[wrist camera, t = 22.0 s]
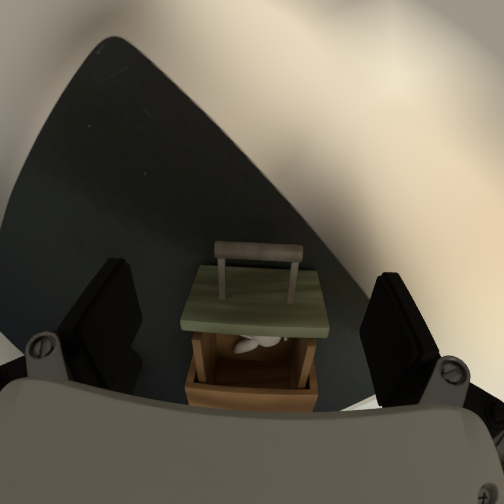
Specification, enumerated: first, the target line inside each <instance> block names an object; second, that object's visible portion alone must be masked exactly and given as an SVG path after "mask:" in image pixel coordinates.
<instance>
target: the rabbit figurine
mask: <svg viewBox="0 0 504 504" xmlns="http://www.w3.org/2000/svg"><path fill="white" fill-rule="evenodd" d="M240 336H243V337H244V338H245V337H246V339H243V340H241V341H239V342H238V343H237V344H236V345H235V347H234V349H233V352H234V353H237V354H239V353H244V352H248V351H251V350H253V349H255V348H256V347H257V346H258V344H259V345H261V346H264V347H270V346H273V345H276V344H277V343H279V342H280V340H281V337H268V336H249V335H240ZM287 340H288V337H284V341H287Z"/></svg>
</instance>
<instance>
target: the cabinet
mask: <svg viewBox="0 0 504 504" xmlns="http://www.w3.org/2000/svg"><path fill="white" fill-rule="evenodd" d="M185 391H186V395H187V399H188V403H189V405H191V406H199V407H207V408H217V409H227V410H240V411H257V412H312V410H313V408H314V405H315V402H316V400H317V397H318V387H317V379H316V370H315V362H314V357H313V361H312V364H311V368H310V372H309V375H308V379H307V382H306V386H305V389H261V388H244V387H230V386H219V385H209V384H200V383H199V380H198V375H197V369H196V363H195V358H194V352H193V356H192V360H191V364H190V367H189V371H188V375H187V379H186V383H185Z"/></svg>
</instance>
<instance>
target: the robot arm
mask: <svg viewBox="0 0 504 504" xmlns="http://www.w3.org/2000/svg"><path fill="white" fill-rule="evenodd" d="M141 322H142V314H141V310H140V306H139V303H138V299H137V295H136V291H135V287H134V282H133V278H132V274H131V269H130V265H129V263H126V261H125V260H124V259H123V258H109V259H108V260H107V261H106V263H105V264H104V265H103V267H102V268H101V269H100V270H99V272H98V273H97V274H96V276H95V277H94V278H93V279H92V281H91V282H90V283H89V285H88V286H87V287H86V289H85V290H84V292H83V293H82V294H81V296H80V297H79V298H78V300H77V301H76V303H75V304H74V305H73V307H72V308H71V310H70V311H69V312H68V314H67V315H66V317H65V318H64V320H63V321H62V323H61V324H60V326H59V327H58V329H59V332H58V333H57V335H56V334H55V333H53V332H49V331H45V332H41V333H38V334H36V335H35V336H33V337H32V338H31V339H30V340H29V342H28V343H27V346H26V350H25V354H26V355H24V356H22V357H19V358H17V359H15V360H13V361H10V362H8V363H6V364H3V365H1V366H0V504H504V403H503V402H502V401H501V400H499V399H498V398H496V397H494V396H492V395H491V394H489V393H487V392H486V391H484V390H482V389H481V388H479V387H477V386H476V385H474V384H472V383H470V371H469V369H468V367H467V365H466V364H465V363H464V362H463V361H462V360H460V359H459V358H457V357H454V356H444V357H441V356H440V354H439V349H438V347H437V345H436V343H435V341H434V339H433V337H432V335H431V333H430V331H429V329H428V327H427V325H426V323H425V321H424V319H423V317H422V315H421V313H420V311H419V309H418V307H417V306H416V304H415V302H414V300H413V298H412V296H411V295H410V293H409V291H408V289H407V287H406V286H405V284H404V282H403V280H402V279H401V277H400V276H399V274H398V273H394V272H393V273H392V272H384V273H383V274H382V275H381V276H378V277H377V280H376V283H375V286H374V289H373V292H372V296H371V298H370V301H369V304H368V307H367V310H366V313H365V316H364V319H363V322H362V324H361V327H360V338H361V341H362V345H363V348H364V352H365V356H366V359H367V363H368V367H369V370H370V374H371V378H372V382H373V386H374V390H375V394H376V398H377V402H378V405H379V406H382V408H378V409H366V410H352V411H336V412H257V411H240V410H227V409H217V408H207V407H199V406H191V405H184V404H177V403H170V402H164V401H158V400H153V399H147V398H142V397H137V396H132V395H128V394H123V393H119V392H114V391H110V390H109V389H112V388H113V387H114V385H115V383H116V380H117V378H118V375H119V373H120V371H121V368H122V366H123V363H124V361H125V359H126V356H127V354H128V352H129V350H130V347H131V345H132V343H133V341H134V338H135V336H136V334H137V332H138V330H139V327H140V325H141Z"/></svg>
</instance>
